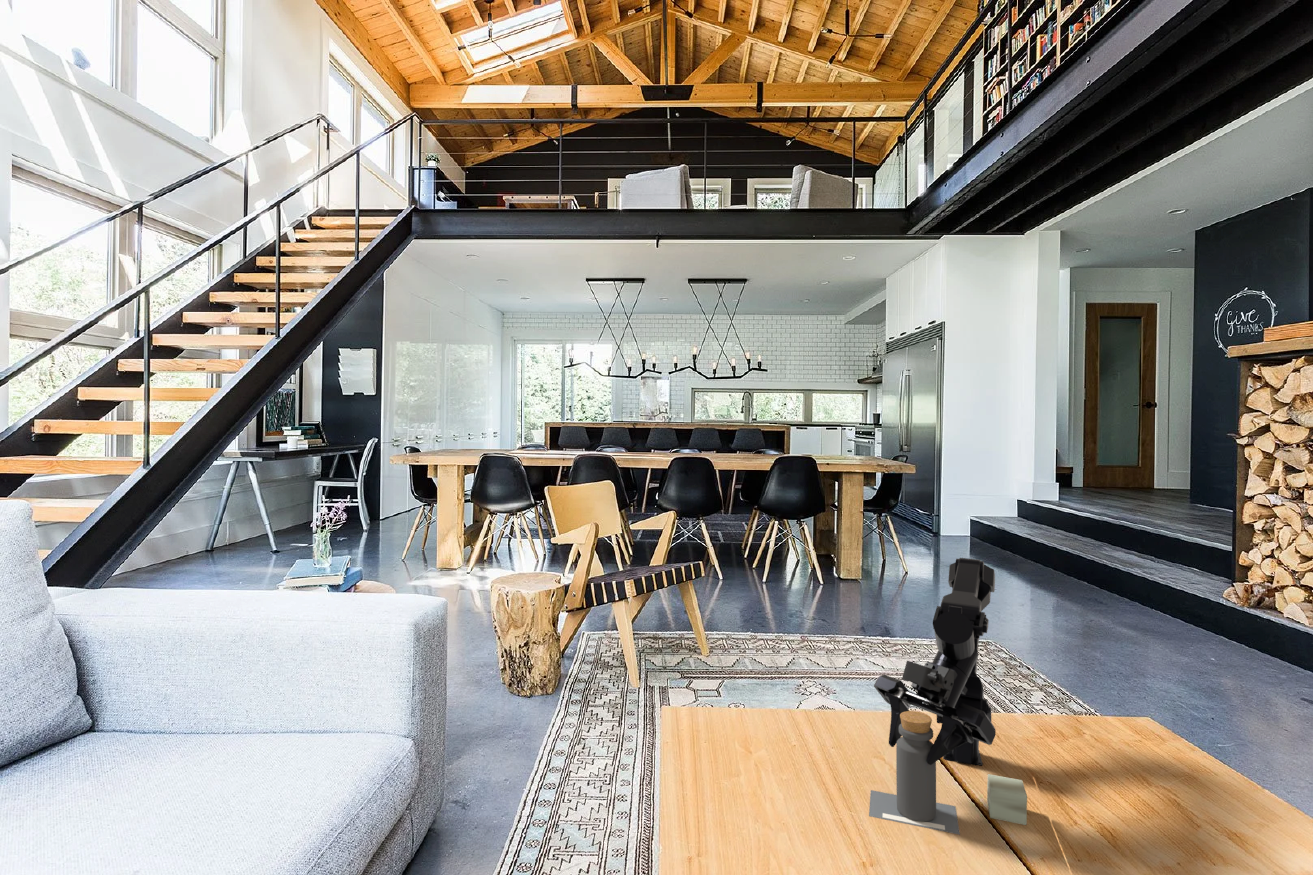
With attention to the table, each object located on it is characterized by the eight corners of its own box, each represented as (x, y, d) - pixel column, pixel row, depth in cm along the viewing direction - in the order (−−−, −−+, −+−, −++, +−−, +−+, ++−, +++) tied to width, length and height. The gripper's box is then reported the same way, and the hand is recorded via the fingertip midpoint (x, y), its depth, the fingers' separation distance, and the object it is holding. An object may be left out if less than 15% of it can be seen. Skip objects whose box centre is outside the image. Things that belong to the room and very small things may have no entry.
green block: (987, 804, 109) (987, 773, 109) (1021, 810, 107) (1022, 780, 107) (990, 820, 104) (990, 789, 104) (1026, 828, 102) (1027, 795, 102)
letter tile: (870, 792, 112) (870, 789, 112) (955, 808, 107) (955, 805, 107) (868, 818, 104) (868, 815, 104) (959, 836, 100) (959, 834, 100)
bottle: (940, 823, 102) (939, 725, 102) (899, 819, 103) (899, 722, 103) (931, 803, 108) (931, 710, 108) (893, 799, 109) (893, 707, 109)
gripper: (881, 627, 115) (838, 705, 109) (987, 659, 100) (944, 752, 94) (907, 663, 120) (867, 740, 114) (1013, 699, 105) (973, 790, 98)
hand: (909, 754), depth 105 cm, fingers open, 6 cm apart
